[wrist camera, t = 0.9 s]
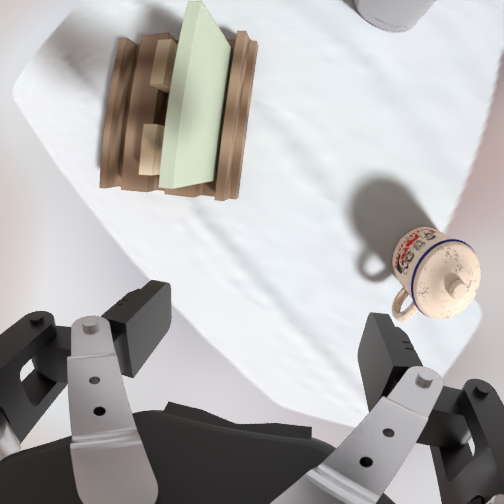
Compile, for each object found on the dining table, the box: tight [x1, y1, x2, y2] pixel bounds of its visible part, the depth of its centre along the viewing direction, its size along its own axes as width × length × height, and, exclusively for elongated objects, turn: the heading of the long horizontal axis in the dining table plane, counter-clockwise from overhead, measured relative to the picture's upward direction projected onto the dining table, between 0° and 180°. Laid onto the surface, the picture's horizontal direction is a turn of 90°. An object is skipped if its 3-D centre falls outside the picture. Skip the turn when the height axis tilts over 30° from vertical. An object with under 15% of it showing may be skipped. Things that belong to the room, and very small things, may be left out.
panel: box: [159, 1, 234, 189], centre depth 27 cm, size 16×1×14 cm, turn 173°
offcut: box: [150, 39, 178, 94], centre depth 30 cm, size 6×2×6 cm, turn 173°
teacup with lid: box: [392, 227, 481, 321], centre depth 31 cm, size 12×9×12 cm
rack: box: [99, 31, 258, 201], centre depth 34 cm, size 20×18×4 cm
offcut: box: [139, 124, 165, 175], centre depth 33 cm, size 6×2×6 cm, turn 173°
